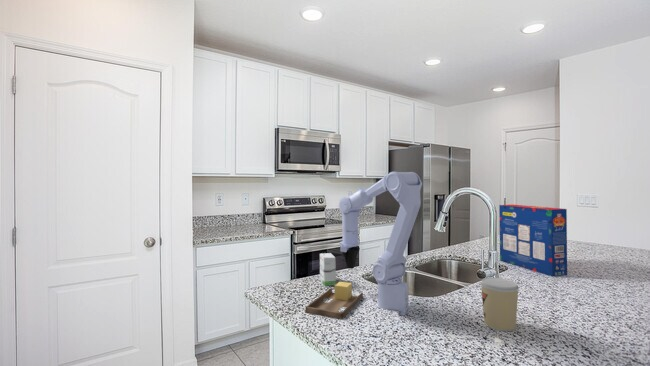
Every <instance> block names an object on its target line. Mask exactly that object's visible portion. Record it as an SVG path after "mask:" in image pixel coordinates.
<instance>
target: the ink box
mask: <svg viewBox="0 0 650 366" xmlns="http://www.w3.org/2000/svg"><path fill="white" fill-rule="evenodd" d="M336 260H337V259H336V257H335V256H334V255H333V254H332V253H331V252H327V253H326V252H324V253H323V252H322V253H319V280H320V282H321V284H323V286H326V287H327V286H335V285H336V284H337V266H336V265H337V264H336V263H337V262H336Z"/></svg>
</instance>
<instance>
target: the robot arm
mask: <svg viewBox="0 0 650 366" xmlns="http://www.w3.org/2000/svg"><path fill="white" fill-rule="evenodd" d="M422 186H423V181H422V180H421V178H420V176H419V175H418V173H417V172H414V171H406V172H405V171H390V172H388V174H385V175H384V176H383V178H381V179H380V180H379V181H376V182H375V183H374V184H373V185H371V186H369V188H367V187H359V188H358V189H357V191H355V193H350V195H349V196H348V197H346V196H343V197H342V198H341V199H339V202H338V210H339V211H340V213H341V215H342V216H341V221H342V222H341V223H342V224H341V226H342V231H341V232H342V233H341V235H342V241H340V242H339V245H340V251H339V252H340V253H342V255H343V257H344V260H345V264H346V268H347V269H355V266H356V260H357V257H358V254H359V251H360V248H361V247H358V246H359V245H360V243H361V241H360V239H359V218H360V217H359V216H360V211H361V210H362V208H364V207H366V206H367V205H369V204H372V203H373V200H374V198H375V197H377V196H379V195H381V194H383V193H385V192H387V191H388V192H389V194H391V195H392V197H393V198H394V200H396V202H398V204H399V208H398V212H397V215H396V218H395V219H394V224H393V227H392V230H391V233H390V236H389V239H388V242H387V245H386V248H385V250H384V251H383V252H382V253H381V254H380V255H379V256H378V258H377V261H376V262H374V264H372V270H371V271H372V275H373V277H374V279H375V282H377V306H378V307H379V308H381V309H384V310H389V311H391V310H392V311H393V310H394V311H398V313H397V315H398V316H403V317H404V316H405V315H406V314H407V312H408V310H409V308H410V305H409V303H410V301H409V298H410V297H409V284H408V282H404V281H402V279H403V276H405V274H406V263H407V258H406V257H405V256H404V254H405V251H406V249H407V245H408V242H409V240H410V237H411V233H412V231H413V228H414V226H415V225H414V224H415V222H416V219H417V217H418V214H419V210H420V208H421V204H422V202H421V201H422V199H421V190H422Z"/></svg>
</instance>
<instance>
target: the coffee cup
mask: <svg viewBox="0 0 650 366" xmlns="http://www.w3.org/2000/svg"><path fill="white" fill-rule="evenodd" d="M480 287H481V300H482V310H483V311H482V312H483V321H484V325H486V326H487V327H489V328H491V329H493V330H497V331H501V332H502V331H503V332H511V331H514V330H515V329H516V327H517V326H516V324H517V316H518V315H517V312H518V299H519V297H518V295H519V290H520V287H519V285H518V284H517V282H515V281H513V280H511V279H507V278H501V277H485V278H482V280H481V281H480Z"/></svg>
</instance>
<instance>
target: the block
mask: <svg viewBox="0 0 650 366" xmlns="http://www.w3.org/2000/svg"><path fill="white" fill-rule="evenodd" d="M352 285H353V284H352V282H346V281H339V282H336V285H334V293H335V299H340V300H346V301H347V300H348V299H349V298H350V297H352V295H353V287H352Z"/></svg>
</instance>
